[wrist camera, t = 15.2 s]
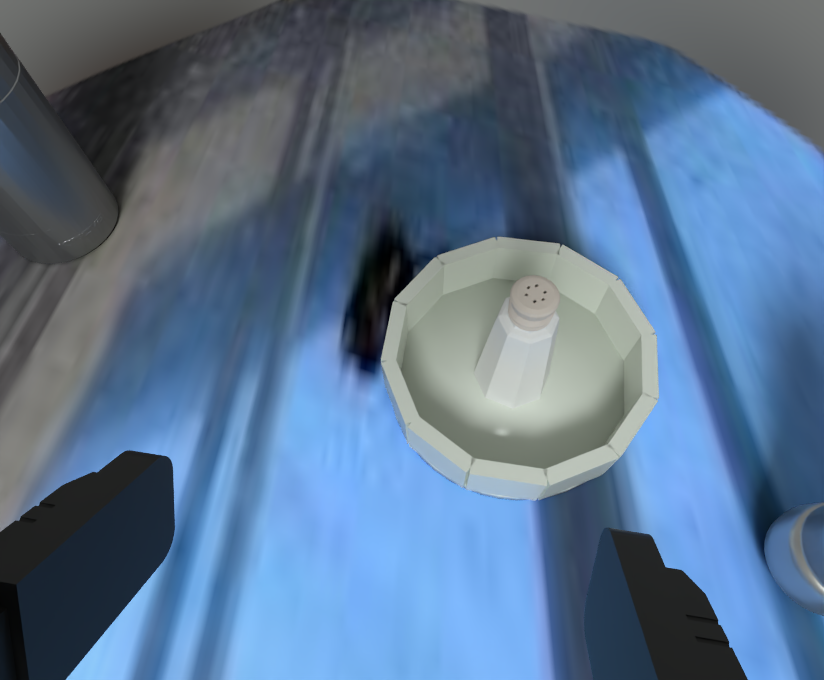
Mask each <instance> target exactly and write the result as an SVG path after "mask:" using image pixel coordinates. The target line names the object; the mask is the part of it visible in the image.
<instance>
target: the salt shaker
mask: <svg viewBox="0 0 824 680" xmlns="http://www.w3.org/2000/svg"><path fill="white" fill-rule="evenodd" d="M559 303H560V294H559V290H558V289H557V287H556V285H555V284H554V283H553V282H552V281H550V280H548V279H547V278H544V277H542V276H536V275H530V276H525V277H522V278H520V279H519V280H517V281H516V282H515V283H514V284H513V286H512V288H511V290H510V297H508V298H506V299H505V301H504V303H503V305H502V307H501V310H500V312H499V314H498V316H497V318H496V321H495V323H494V325H493V328H492V330H491V332H490V335H489V337H488V340H487V342H486V344H485V347H484V349H483V352H482V354H481V356H480V359H479V361H478V364H477V366H476V368H475V371H474V374H475V377H476V379H477V381H478V383H479V385H480V387H481V390H482V392H483V394H484V396H485V398H488V399H490V400H493V401H495V402H497V403H500V404H502V405H505V406H507V407H510V408H512V409H513V408H516V407H519V406H522V405H524V404H527V403H530V402H532V401H535V400H538V399H540V396H541V394H542V391H543V389H544V386H545V383H546V381H547V378H548V375H549V371H550V366H551V361H552V356H553V351H554V346H555V341H556V336H557V331H558V326H559V316H558V314H557V312H556V309H557V308H558V305H559Z"/></svg>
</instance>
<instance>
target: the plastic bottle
mask: <svg viewBox="0 0 824 680" xmlns="http://www.w3.org/2000/svg"><path fill="white" fill-rule="evenodd" d="M764 552H765V558H766V562H767V565H768V567H769V570H770V572H771V574H772V576H773V578H774V579H775V581H776V583H777V584H778V585H779V586H780V588H781V589H782V590H783V591H784V592H785V593H786V594H787V595H788V596H789V597H790V598H791V599H792V600H793V601H795V602H796V603H797V604H799V605H800V606H802V607H803V608H805V609H807V610H809V611H811V612H813V613H816V614H819V615H822V616H824V502H820V503H811V504H803V505H799V506H796V507H793V508H791V509H790V510H788V511H787V512H785V513H784V514H782V515H781V516H780V517H779V518H777V519H776V520H775V521H774V522H773V523H772V524H771V526H770V527H769V529H768V531H767V533H766V537H765V541H764Z"/></svg>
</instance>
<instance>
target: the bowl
mask: <svg viewBox="0 0 824 680" xmlns="http://www.w3.org/2000/svg"><path fill="white" fill-rule="evenodd" d="M530 275H536V276H542V277H544V278H547V279H548V280H550V281H552V282H553V283H554V284H555V285H556V287H557V289H558V290H559V294H560V303H559V305H558V308H557V309H556V312H557V314H558V316H559V326H558V331H557V336H556V341H555V346H554V351H553V356H552V361H551V366H550V371H549V375H548V378H547V381H546V383H545V386H544V389H543V391H542V394H541V396H540V399H538V400H535V401H532V402H530V403H527V404H524V405H522V406H519V407H516V408H513V409H512V408H510V407H507V406H505V405H502V404H500V403H497V402H495V401H493V400H490V399H488V398H485V396H484V394H483V392H482V390H481V387H480V385H479V383H478V381H477V379H476V377H475V374H474V371H475V368H476V366H477V364H478V361H479V359H480V356H481V354H482V352H483V349H484V347H485V344H486V342H487V340H488V337H489V335H490V332H491V330H492V328H493V325H494V323H495V321H496V318H497V316H498V314H499V312H500V310H501V307H502V305H503V303H504V301H505V299H506V298H508V297H510V290H511V288H512V286H513V284H514V283H515V282H516V281H517V280H519V279H520V278H522V277H525V276H530ZM617 279H618V277H617V276H616V275H614V274H612V273H611V272H609V271H607V270H605V269H604V268H602V267H600V266H599V265H597V264H595V263H594V262H592V261H590V260H588V259H587V258H585V257H583V256H582V255H580V254H578V253H576V252H575V251H573V250H571V249H570V248H568V247H566V246H564V245H562V246H561V248H560V244H558V243H550V242H541V241H532V240H523V239H515V238H506V237H497V240H496V238H495V237H493V238H490V239H486V240H483V241H480V242H477V243H474V244H471V245H468V246H465V247H462V248H459V249H456V250H453V251H450V252H447V253H444V254H440V255H437V258H436V257H434V258H433V259H432V260H431V261H430V263H429V264H428V265H427V266H426V267H425V268H424V269H423V270H422V271H421V272H420V273H419V274H418V275H417V276H416V277H415V278H414V279H413V280H412V281H411V282H410V283H409V284H408V285H407V286H406V287H405V288H404V290H403V291H402V292H401V293H400V294H399V295H398V296H397V297H396V298H395V299H394V301H395V302H394V301H393V304H392V309H391V314H390V318H389V323H388V328H387V333H386V338H385V343H384V347H383V352H382V357H381V365H382V371H383V377H384V383H385V388H386V390H387V393H388V395H389V398H390V401H391V403H392V406H393V409H394V413H395V416H396V419H397V421H398V423H399V426H400V428H401V430H402V432H403V434H404V437H405V439H406V442H407V444H408V443H409V447H411V448H412V449H413V450H414V451H416V452H417V454H418V455H419V456H420V457H421V458H422V459H423V460H424V461H425V462H426V463H427V464H428V465H429V466H430V467H431V468H433V469H434V470H435V471H436V472H438V473H439V474H440V475H442V476H443V477H445V478H446V479H448V480H449V481H451V482H453V483H455V484H457V485H459V486H460V487H461V488H465V489H466V490H470V491H473V492H475V493H478V494H481V495H485V496H489V497H494V498H498V499H508V500H534V501H536V500H537V499H538V500H541V499H544V498H546V497H551V496H554V495H557V494H560V493H563V492H566V491H569V490H571V489H573V488H575V487H577V486H579V485H581V484H583V483H584V482H586V481H588V480H591V479H593V478H596V477H598V476H601V475H602V474H603V473H604V472H605V471H606V470H608V469H609V468H610V467H611V466H612V465H613V464H614V463H615V462H616V461H617V460H618V459H619V458H620V457H621V456H622V454H623V453H624V451H625V450H626V448H627V447H628V445H629V444H630V442H631V441H632V439H633V438H634V436H635V435H636V433H637V432H638V430H639V429H640V427H641V426H642V424H643V423H644V421H645V420H646V418H647V417H648V415H649V414H650V412H651V411H652V409H653V408H654V406H655V405H656V403H657V402H658V401H657V399H658V398H659V389H658V362H657V335H654V334H655V330H654V329H653V327H652V326H651V324H650V323H649V321H648V320H647V318H646V317H645V315H644V314H643V312H642V311H641V309H640V308H639V306H638V305H637V303H636V302H635V300H634V299H633V297H632V296H631V294H630V293H629V291H628V290H627V288H626V287H625V285H624V284H623V282H622V281H621V279H619V280H617Z"/></svg>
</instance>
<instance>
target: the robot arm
mask: <svg viewBox="0 0 824 680" xmlns="http://www.w3.org/2000/svg"><path fill="white" fill-rule="evenodd" d="M117 217H118V204H117V201H116V198H115V197H114V195H113V194H112V192H111V191H110V190H109V188H108V187H107V185H106V184H105V182H104V181H103V179H102V178H101V177H100V175H99V174H98V172H97V171H96V169H95V168H94V166H93V165H92V163H91V162H90V160H89V159H88V157H87V156H86V155H85V153H84V152H83V150H82V149H81V147H80V146H79V145H78V143H77V142H76V140H75V139H74V137H73V136H72V135H71V133H70V132H69V130H68V129H67V127H66V126H65V124H64V123H63V122H62V120H61V119H60V117H59V116H58V114H57V113H56V112H55V110H54V109H53V107H52V106H51V104H50V103H49V102H48V100H47V99H46V97H45V96H44V94H43V93H42V92H41V90H40V89H39V87H38V86H37V84H36V83H35V81H34V80H33V79H32V77H31V76H30V74H29V73H28V72H27V70H26V69H25V67H24V66H23V64H22V63H21V61H20V60H19V59H18V57H17V56H16V54H15V53H14V52H13V50H12V49H11V48H10V46H9V45H8V43H7V42H6V40H5V39H4V37H3V36H2V35H1V33H0V236H1V237H2V238H4V239H5V240H6V241H7V242H8V243H9V244H10V245H11V246H12V247H13V248H14V249H15V250H16V251H17V252H18V253H19V254H21V255H22V256H23V257H24V258H26V259H28V260H30V261H33V262H37V263H42V264H55V263H63V262H67V261H70V260H74V259H77V258H79V257H81V256H83V255H85V254H87V253H89V252H90V251H92V250H93V249H95V248H96V247H98V246H99V245H100V244H101V243H102V242H103V241H104V240H105V239H106V238H107V237H108V235H109V234H110V233H111V232H112V230H113V228H114V226H115V224H116V221H117ZM174 530H175V519H174V488H173V466H172V462H171V460H170V459H169V458H168V457H167V456H161V455H155V454H149V453H143V452H136V451H130V450H129V451H125V452H123V453H122V454H120V455H119V456H118V457H116V458H115V459H114V460H113V461H111V462H110V463H109V464H107V465H106V466H105V467H104V468H102V469H101V470H100V471H99V472H97V473H96V472H92V473H89V474H87V475H85V476H83V477H80V478H78V479H76V480H73V481H71V482H69V483H66V484H64V485H62V486H61V487H60V488H58V489H57V490H56V491H54V492H53V493H52V494H50V495H49V496H48V497H46V498H45V499H44V500H42V501H41V502H40V504H39V506H34V507H33V508H32V509H30V510H29V511H28V512H26V513H25V514H24V515H22V516H21V518H20V520H19V521H14V522H13V523H12V524H10V525H9V526H8V527H6V528H5V529H4V530H2V531H1V532H0V680H66V678H67V677H68V676H69V675H70V674H71V672H72V671H73V670H74V669H75V667H76V666H77V665H78V664H79V663H80V661H81V660H82V659H83V658H84V657H85V655H86V654H87V653H88V652H89V651H90V649H91V648H92V647H93V646H94V644H95V643H96V642H97V641H98V640H99V638H100V637H101V636H102V635H103V634H104V632H105V631H106V630H107V629H108V627H109V626H110V625H111V624H112V623H113V621H114V620H115V619H116V618H117V617H118V615H119V614H120V613H121V612H122V611H123V609H124V608H125V607H126V606H127V604H128V603H129V602H130V601H131V600H132V598H133V597H134V596H135V595H136V594H137V592H138V591H139V590H140V589H141V587H142V586H143V585H144V584H145V583H146V581H147V580H148V579H149V578H150V577H151V575H152V574H153V573H154V572H155V571H156V569H157V568H158V567H159V566H160V564H161V563H162V562H163V561H164V559H165V557H166V556H167V554H168V552H169V549H170V547H171V544H172V541H173V536H174ZM584 631H585V639H586V644H587V649H588V654H589V660H590V665H591V670H592V675H593V680H748V679H747V677H746V675H745V673H744V671H743V669H742V667H741V665H740V663H739V661H738V659H737V657H736V655H735V653H734V651H733V649H732V648H730V647H729V641H728V639H727V637H726V635H725V633H724V631H723V629H722V627H721V625H718V619H717V617H716V615H715V613H714V610H713V608H712V606H711V604H710V602H709V600H708V598H707V596H706V594H705V593H704V592H703V591H702V590H701V589H700V588H699V587H698V586H697V585H696V584H695V583H694V582H693V581H692V580H691V579H690V578H689V577H688V576H687V575H686V574H685V573H684V572H683V571H682V570H678V569H672V568H666V567H665V565H664V563H663V560H662V558H661V556H660V553H659V551H658V549H657V546H656V544H655V542H654V540H653V538H652V536H651V535H649V534H643V533H637V532H631V531H625V530H618V529H612V528H605V529H604V530H603V532H602V534H601V537H600V541H599V545H598V550H597V554H596V558H595V563H594V567H593V571H592V576H591V580H590V584H589V588H588V593H587V597H586V603H585V612H584Z"/></svg>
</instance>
